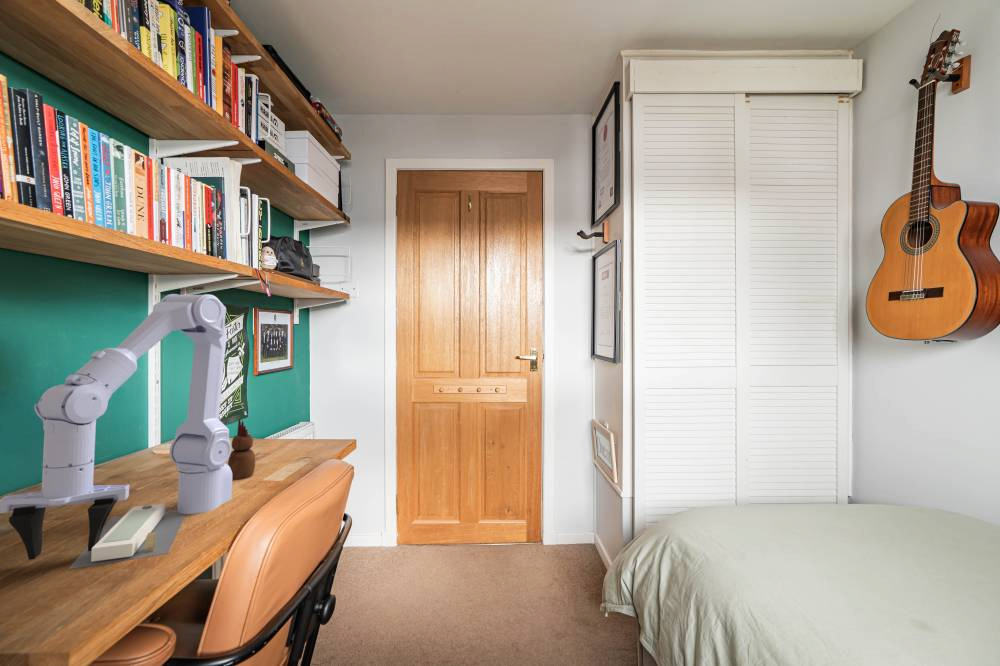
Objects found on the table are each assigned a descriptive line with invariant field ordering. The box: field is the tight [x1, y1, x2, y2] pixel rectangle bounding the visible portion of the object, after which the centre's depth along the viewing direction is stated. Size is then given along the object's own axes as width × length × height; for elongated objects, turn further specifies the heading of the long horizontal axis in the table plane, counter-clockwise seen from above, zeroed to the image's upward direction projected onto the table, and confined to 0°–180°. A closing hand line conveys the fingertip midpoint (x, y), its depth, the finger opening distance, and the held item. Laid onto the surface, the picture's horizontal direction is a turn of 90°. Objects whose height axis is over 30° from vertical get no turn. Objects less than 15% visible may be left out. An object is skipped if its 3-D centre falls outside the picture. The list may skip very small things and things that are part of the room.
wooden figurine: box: [227, 418, 256, 480], centre depth 112 cm, size 7×6×15 cm
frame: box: [91, 503, 166, 562], centre depth 77 cm, size 18×5×2 cm, turn 24°
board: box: [68, 508, 187, 570], centre depth 78 cm, size 21×12×4 cm, turn 27°
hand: (64, 552), depth 69 cm, fingers open, 6 cm apart
